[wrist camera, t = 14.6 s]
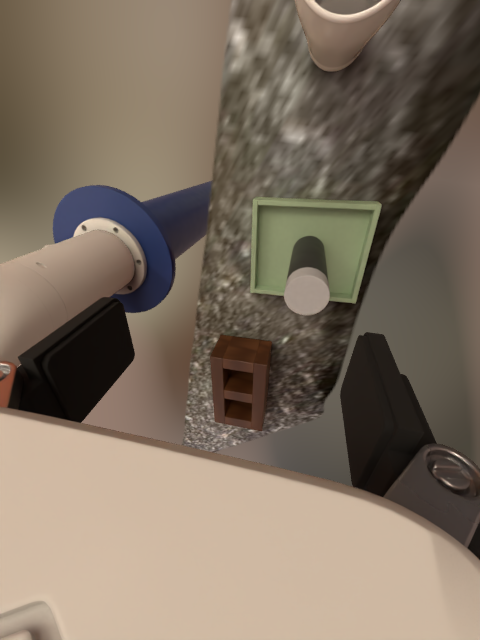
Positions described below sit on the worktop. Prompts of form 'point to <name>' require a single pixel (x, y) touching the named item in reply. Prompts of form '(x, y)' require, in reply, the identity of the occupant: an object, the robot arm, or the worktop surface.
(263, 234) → the tray
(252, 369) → the holder
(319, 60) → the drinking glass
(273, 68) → the worktop surface
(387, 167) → the worktop surface
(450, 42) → the worktop surface
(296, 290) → the tool handle
